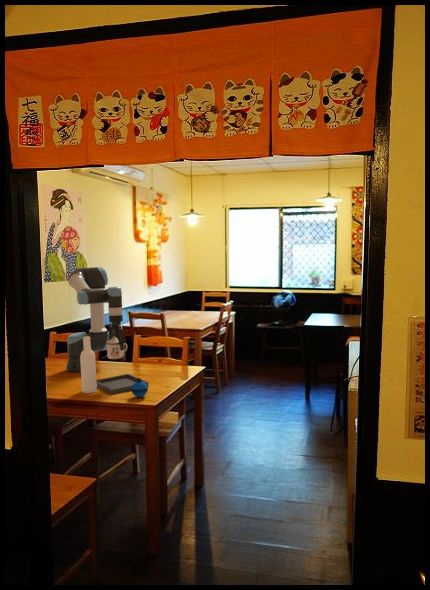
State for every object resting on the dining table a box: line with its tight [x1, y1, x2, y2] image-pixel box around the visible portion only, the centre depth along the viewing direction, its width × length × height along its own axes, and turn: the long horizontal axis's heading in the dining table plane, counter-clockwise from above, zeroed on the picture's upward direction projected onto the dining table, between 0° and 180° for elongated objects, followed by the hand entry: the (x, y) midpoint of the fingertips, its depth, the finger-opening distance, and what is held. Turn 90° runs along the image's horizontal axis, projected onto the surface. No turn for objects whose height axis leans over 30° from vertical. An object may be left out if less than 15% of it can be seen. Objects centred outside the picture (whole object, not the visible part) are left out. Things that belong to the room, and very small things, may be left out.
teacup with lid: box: [106, 336, 128, 360], centre depth 280 cm, size 12×9×12 cm
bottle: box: [80, 336, 98, 394], centre depth 270 cm, size 8×8×30 cm
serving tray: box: [96, 373, 149, 395], centre depth 281 cm, size 24×22×2 cm
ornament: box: [130, 377, 149, 398], centre depth 259 cm, size 9×9×10 cm
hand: (117, 354), depth 281 cm, fingers closed on teacup with lid, 9 cm apart
